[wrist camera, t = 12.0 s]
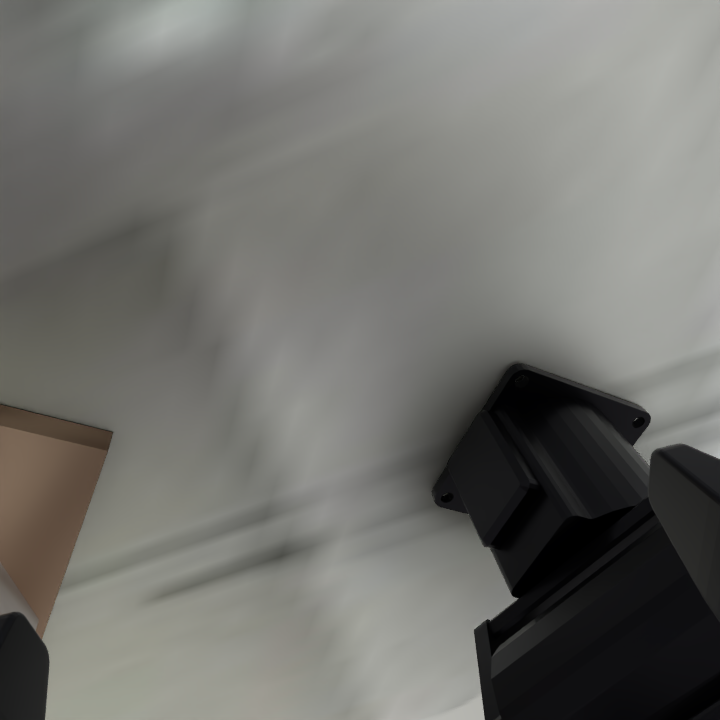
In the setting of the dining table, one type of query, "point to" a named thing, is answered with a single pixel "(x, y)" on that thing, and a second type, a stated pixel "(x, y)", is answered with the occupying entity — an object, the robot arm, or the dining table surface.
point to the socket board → (42, 505)
